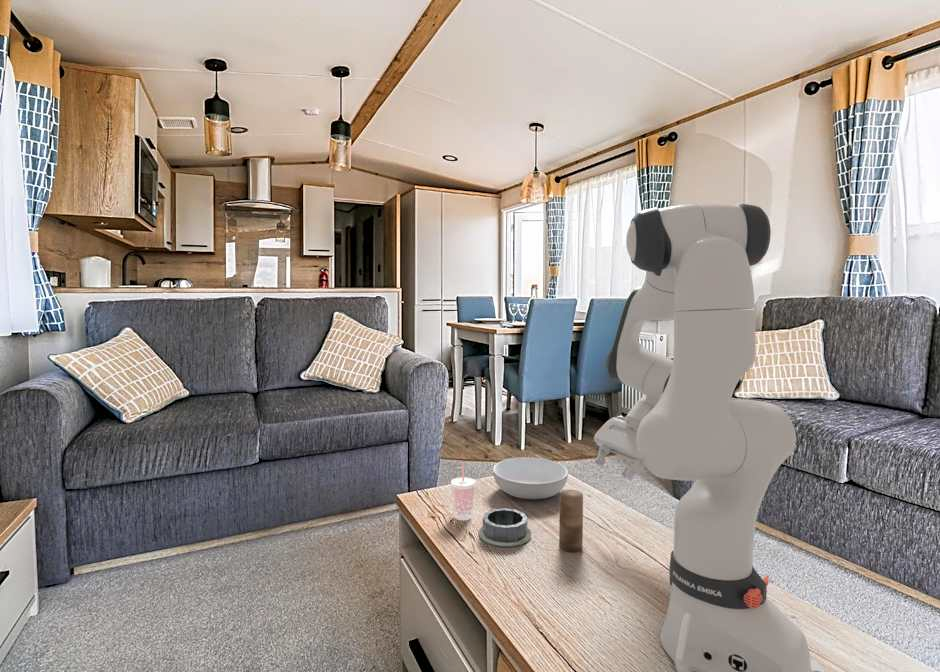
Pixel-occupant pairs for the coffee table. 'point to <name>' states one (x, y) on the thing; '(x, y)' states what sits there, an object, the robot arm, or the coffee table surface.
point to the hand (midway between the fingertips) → (611, 470)
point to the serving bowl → (530, 477)
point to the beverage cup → (463, 496)
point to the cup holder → (505, 528)
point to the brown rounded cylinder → (571, 520)
